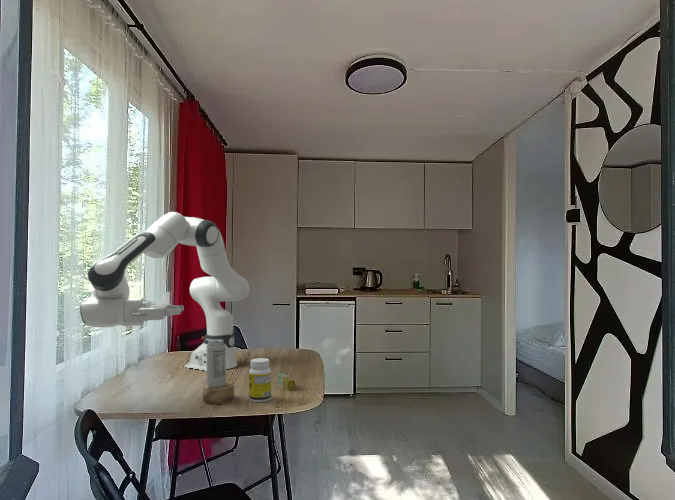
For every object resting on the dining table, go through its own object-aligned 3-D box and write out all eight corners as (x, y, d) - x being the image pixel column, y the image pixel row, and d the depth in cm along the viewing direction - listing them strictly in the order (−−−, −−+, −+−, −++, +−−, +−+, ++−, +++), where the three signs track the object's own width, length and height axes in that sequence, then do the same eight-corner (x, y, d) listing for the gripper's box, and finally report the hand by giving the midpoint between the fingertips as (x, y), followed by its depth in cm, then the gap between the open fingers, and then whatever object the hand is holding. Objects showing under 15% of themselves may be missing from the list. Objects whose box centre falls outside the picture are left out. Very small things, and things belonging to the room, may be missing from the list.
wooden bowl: (196, 402, 152) (196, 389, 152) (214, 394, 161) (214, 381, 161) (222, 405, 148) (222, 391, 148) (240, 396, 158) (240, 383, 158)
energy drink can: (220, 383, 159) (219, 338, 159) (229, 386, 154) (228, 340, 155) (203, 386, 155) (203, 340, 155) (212, 390, 150) (211, 342, 151)
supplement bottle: (250, 396, 157) (249, 357, 158) (272, 395, 158) (271, 357, 158) (248, 403, 150) (247, 362, 150) (271, 402, 151) (270, 361, 151)
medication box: (276, 384, 174) (276, 373, 174) (283, 383, 175) (283, 372, 175) (288, 392, 163) (288, 380, 163) (295, 390, 164) (295, 379, 164)
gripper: (130, 304, 141) (178, 303, 144) (142, 299, 160) (184, 297, 164) (130, 326, 140) (179, 323, 144) (142, 317, 160) (184, 315, 164)
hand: (182, 309), depth 154 cm, fingers open, 8 cm apart
